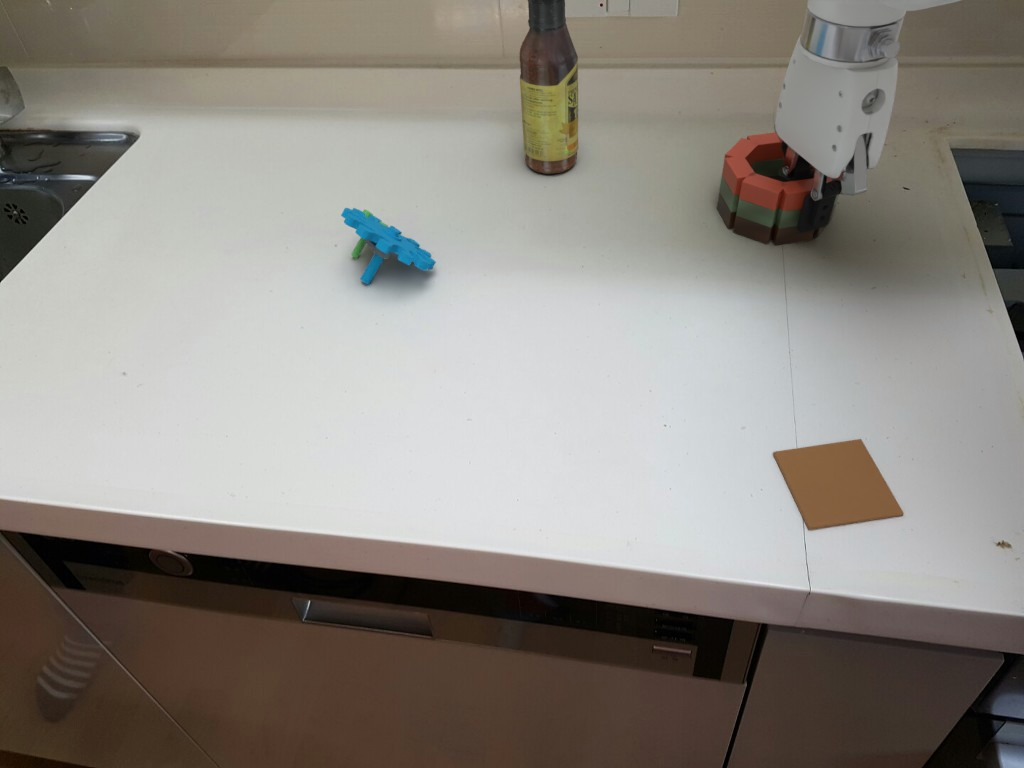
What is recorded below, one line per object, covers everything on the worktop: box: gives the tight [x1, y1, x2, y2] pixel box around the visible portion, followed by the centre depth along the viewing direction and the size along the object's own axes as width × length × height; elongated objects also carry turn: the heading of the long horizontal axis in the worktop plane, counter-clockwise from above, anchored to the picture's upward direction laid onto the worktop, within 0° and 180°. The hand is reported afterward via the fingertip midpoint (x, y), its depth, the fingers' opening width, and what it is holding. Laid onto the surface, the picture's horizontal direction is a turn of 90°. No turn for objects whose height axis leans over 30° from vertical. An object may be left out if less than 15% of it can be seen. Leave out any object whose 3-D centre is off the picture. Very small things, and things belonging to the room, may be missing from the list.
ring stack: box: [716, 158, 839, 246], centre depth 81 cm, size 11×11×4 cm
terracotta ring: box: [721, 131, 833, 211], centre depth 79 cm, size 11×11×2 cm
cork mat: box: [772, 438, 905, 531], centre depth 58 cm, size 7×7×1 cm
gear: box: [340, 207, 437, 285], centre depth 77 cm, size 11×6×10 cm
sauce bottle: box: [519, 0, 579, 175], centre depth 84 cm, size 7×6×20 cm
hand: (802, 217), depth 78 cm, fingers closed on ring stack, terracotta ring, 2 cm apart
